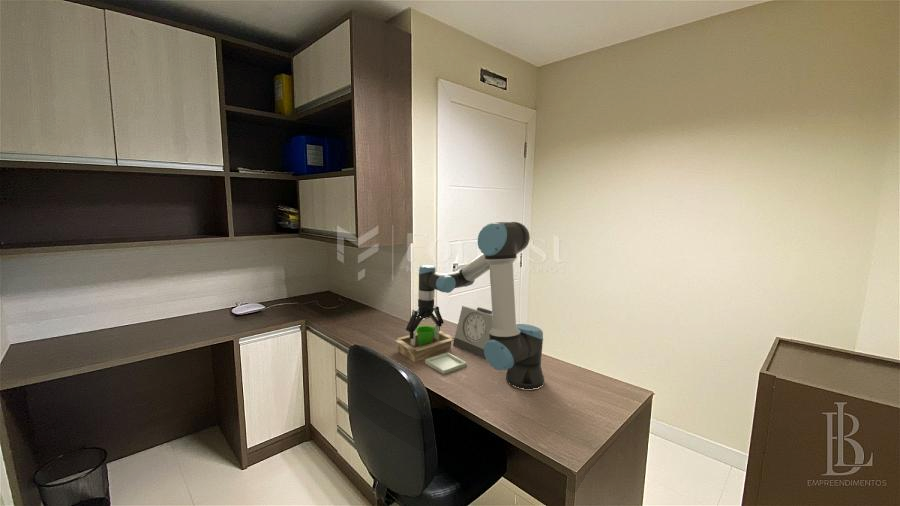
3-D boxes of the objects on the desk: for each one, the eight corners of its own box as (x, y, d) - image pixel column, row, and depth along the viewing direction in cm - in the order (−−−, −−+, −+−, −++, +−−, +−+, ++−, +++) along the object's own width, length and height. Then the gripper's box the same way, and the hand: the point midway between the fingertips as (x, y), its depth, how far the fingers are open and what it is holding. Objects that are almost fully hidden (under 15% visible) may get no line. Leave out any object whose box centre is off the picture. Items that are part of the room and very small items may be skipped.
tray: (466, 366, 159) (466, 362, 159) (443, 374, 151) (443, 370, 151) (447, 355, 169) (447, 352, 169) (425, 363, 161) (425, 359, 161)
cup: (431, 356, 168) (432, 333, 167) (412, 353, 170) (413, 331, 168) (436, 348, 177) (437, 326, 175) (418, 346, 179) (418, 324, 177)
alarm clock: (452, 345, 181) (454, 306, 178) (473, 337, 192) (475, 300, 189) (484, 359, 167) (486, 316, 164) (505, 350, 178) (507, 310, 175)
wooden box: (456, 350, 175) (457, 338, 174) (413, 364, 159) (413, 351, 158) (434, 339, 188) (435, 328, 187) (392, 351, 172) (392, 339, 171)
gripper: (442, 292, 180) (440, 333, 184) (399, 300, 165) (398, 344, 168) (451, 296, 175) (450, 338, 178) (408, 304, 159) (407, 350, 162)
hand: (424, 341), depth 173 cm, fingers open, 13 cm apart
